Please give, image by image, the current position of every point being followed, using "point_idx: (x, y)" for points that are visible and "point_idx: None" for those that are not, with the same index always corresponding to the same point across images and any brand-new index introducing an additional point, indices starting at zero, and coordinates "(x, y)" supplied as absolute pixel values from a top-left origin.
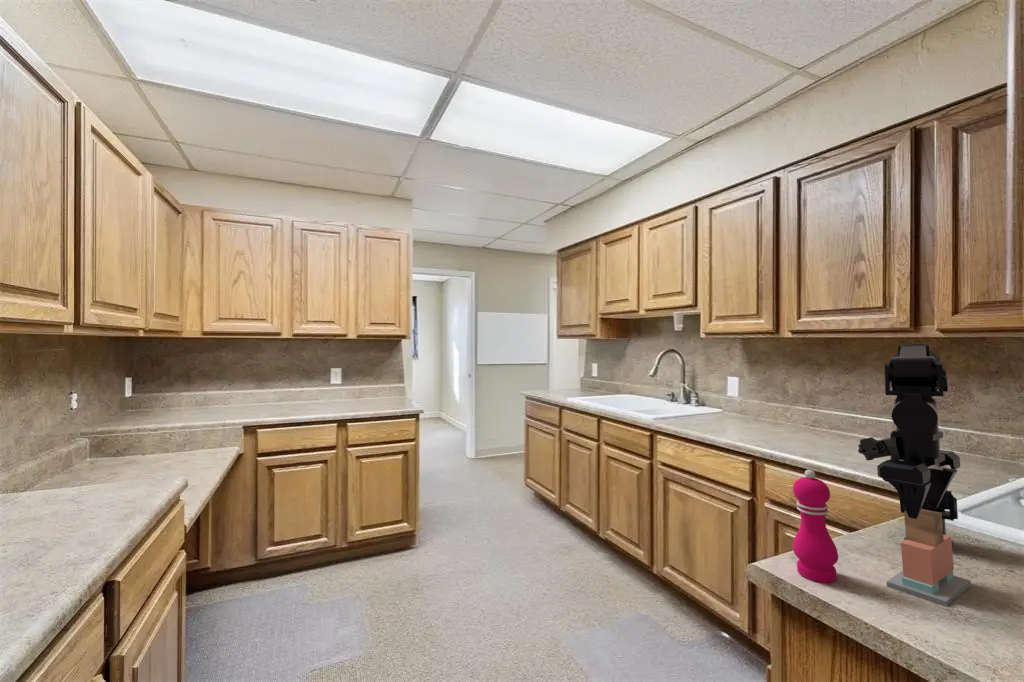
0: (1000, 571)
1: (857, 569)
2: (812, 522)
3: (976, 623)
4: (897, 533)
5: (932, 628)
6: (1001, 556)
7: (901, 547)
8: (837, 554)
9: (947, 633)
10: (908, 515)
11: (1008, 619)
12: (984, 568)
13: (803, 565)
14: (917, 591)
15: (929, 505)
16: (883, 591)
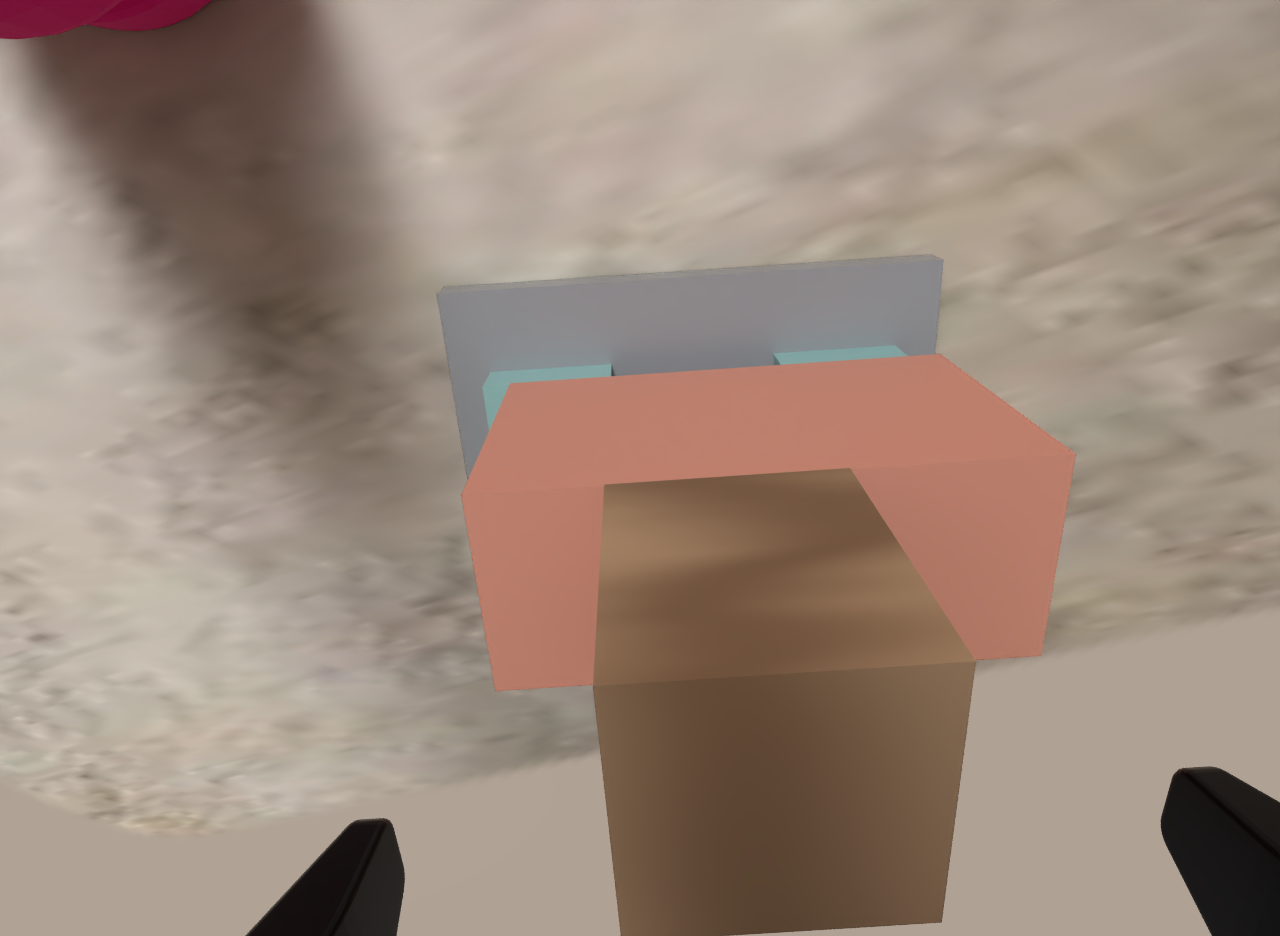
0: (1267, 557)
1: (534, 15)
2: None
3: (438, 683)
4: None
5: (187, 611)
6: None
7: (469, 476)
8: (43, 18)
9: (211, 656)
10: (334, 845)
11: None
12: (1260, 498)
13: None
14: (472, 458)
15: (1180, 788)
16: (346, 309)
